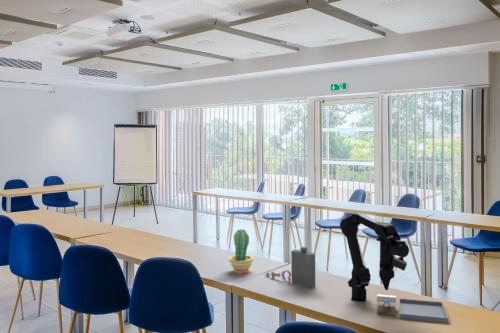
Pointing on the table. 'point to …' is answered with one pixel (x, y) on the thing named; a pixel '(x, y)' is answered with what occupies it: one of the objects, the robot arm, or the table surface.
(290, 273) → the decorative key
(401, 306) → the tray
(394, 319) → the table surface
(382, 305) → the socket block
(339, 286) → the table surface
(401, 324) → the table surface
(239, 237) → the potted cactus
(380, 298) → the gray rectangular block
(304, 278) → the flask
